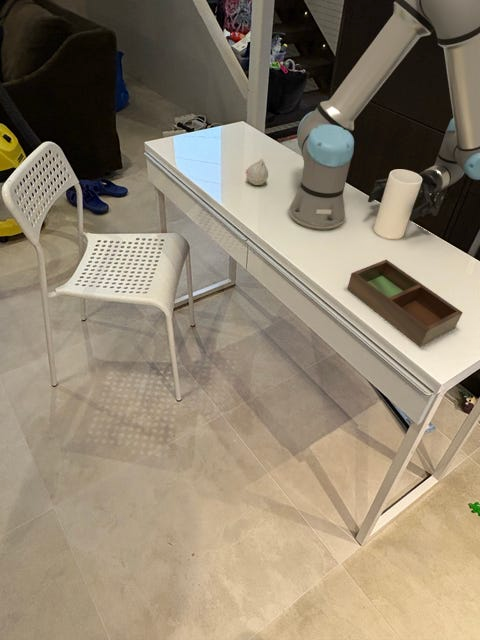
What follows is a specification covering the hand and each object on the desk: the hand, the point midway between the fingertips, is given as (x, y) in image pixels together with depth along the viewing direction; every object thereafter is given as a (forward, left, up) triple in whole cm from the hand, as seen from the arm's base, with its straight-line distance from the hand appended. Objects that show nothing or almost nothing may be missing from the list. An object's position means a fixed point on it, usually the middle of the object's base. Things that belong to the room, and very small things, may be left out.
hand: (390, 206), depth 126 cm
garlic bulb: (-11, -41, -9) cm, 43 cm away
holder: (+29, +9, -9) cm, 32 cm away
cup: (-3, +1, -9) cm, 10 cm away
